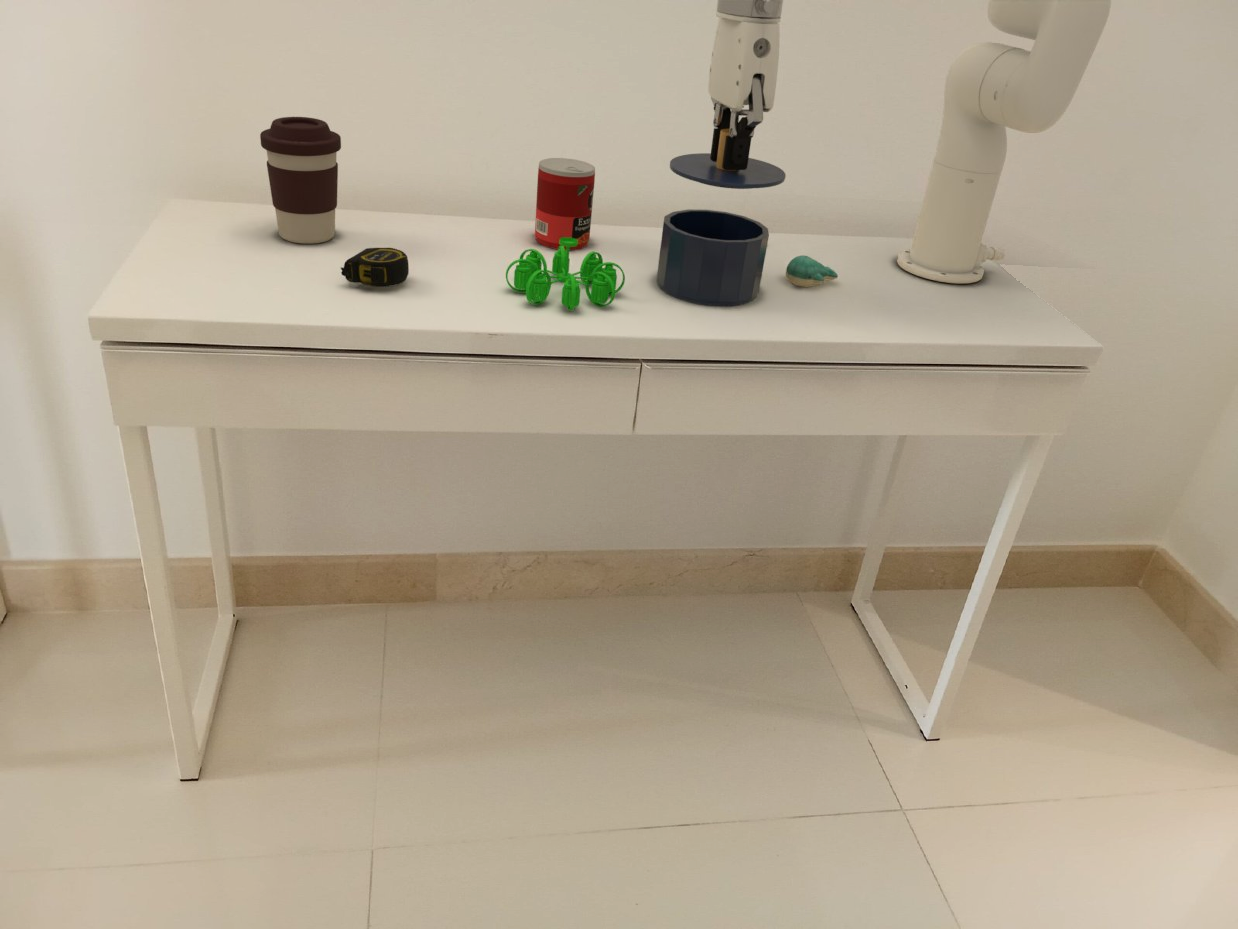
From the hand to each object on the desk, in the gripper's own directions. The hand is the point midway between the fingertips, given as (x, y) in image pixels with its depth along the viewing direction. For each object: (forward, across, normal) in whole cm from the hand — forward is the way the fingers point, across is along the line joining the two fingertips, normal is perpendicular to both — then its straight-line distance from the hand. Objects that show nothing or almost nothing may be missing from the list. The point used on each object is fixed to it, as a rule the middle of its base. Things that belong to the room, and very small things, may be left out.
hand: (728, 163), depth 124 cm
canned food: (+16, +19, +16) cm, 29 cm away
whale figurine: (+17, +1, -15) cm, 23 cm away
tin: (+16, 0, +1) cm, 16 cm away
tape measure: (+16, +4, +44) cm, 47 cm away
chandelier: (+16, -1, +21) cm, 26 cm away
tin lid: (+1, 0, 0) cm, 1 cm away
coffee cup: (+16, +22, +51) cm, 57 cm away
